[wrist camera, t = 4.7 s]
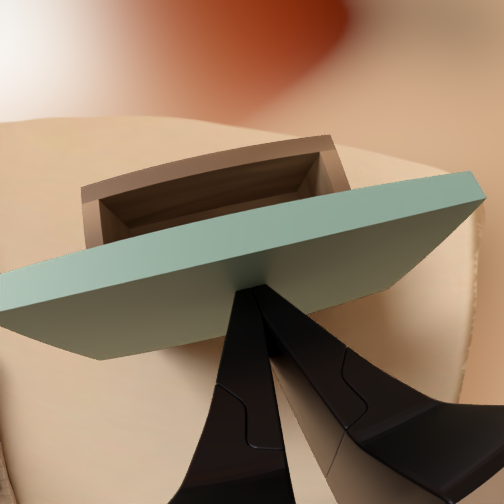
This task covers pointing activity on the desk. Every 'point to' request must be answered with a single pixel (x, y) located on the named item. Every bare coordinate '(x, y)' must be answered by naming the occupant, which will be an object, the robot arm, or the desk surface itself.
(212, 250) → the lid
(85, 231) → the walnut box
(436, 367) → the desk surface
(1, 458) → the packaged product
